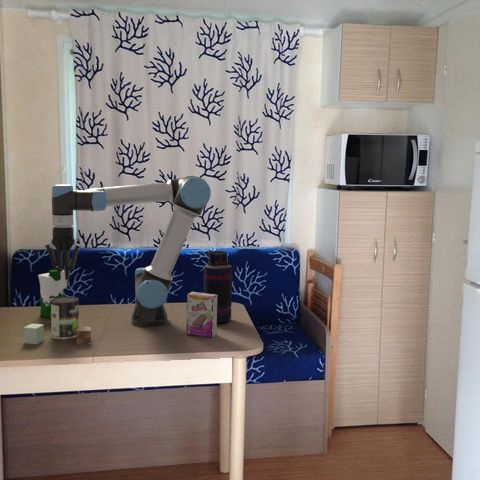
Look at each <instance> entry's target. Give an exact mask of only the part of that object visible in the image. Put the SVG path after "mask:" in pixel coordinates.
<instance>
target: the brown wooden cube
mask: <svg viewBox="0 0 480 480" xmlns="http://www.w3.org/2000/svg"><path fill="white" fill-rule="evenodd" d="M76 332H77V337H76V345H86V344H87V345H89V344H88V343H91V344H92V327H91V326H79V327H77V331H76Z"/></svg>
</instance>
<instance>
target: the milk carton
mask: <svg viewBox="0 0 480 480" xmlns="http://www.w3.org/2000/svg"><path fill="white" fill-rule="evenodd" d="M37 277H38V280H39V286H40V287H39V289H40V290H39V291H40V314H39V315H40V316H42V317H44V318H47V319H51V299H54V298H57V297H64V289H61V280H59V279H58V271H57V270H54V269H50V270H49V271H48V272H46V273H41V274H38V275H37Z"/></svg>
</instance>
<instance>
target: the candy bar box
mask: <svg viewBox="0 0 480 480" xmlns="http://www.w3.org/2000/svg"><path fill="white" fill-rule="evenodd" d="M217 325H218V322H217V295H214V294H206V293H204V292H196V291H191V292H189V293H187V295H186V329H185V330H186V334H185V335H190V336H197V337H201V338H202V337H203V338H210V339H212V338H213V339H214V338H215V336H216V335H217V333H218V332H217V331H218V330H217V327H218V326H217Z"/></svg>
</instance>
